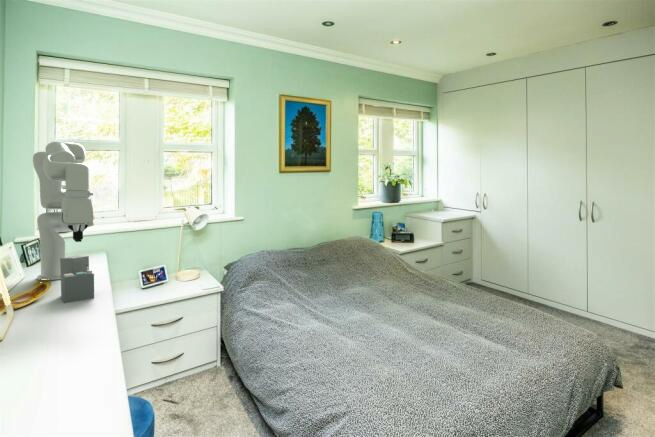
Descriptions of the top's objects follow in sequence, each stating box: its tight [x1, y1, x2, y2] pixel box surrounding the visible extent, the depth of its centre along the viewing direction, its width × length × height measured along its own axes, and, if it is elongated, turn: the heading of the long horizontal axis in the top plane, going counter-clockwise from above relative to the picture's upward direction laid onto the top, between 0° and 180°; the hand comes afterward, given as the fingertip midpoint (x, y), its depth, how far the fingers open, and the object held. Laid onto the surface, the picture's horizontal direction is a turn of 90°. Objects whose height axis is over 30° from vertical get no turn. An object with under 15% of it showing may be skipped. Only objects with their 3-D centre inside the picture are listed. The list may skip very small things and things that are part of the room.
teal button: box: [75, 272, 85, 276], centre depth 147 cm, size 3×3×3 cm
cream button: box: [64, 273, 74, 277], centre depth 144 cm, size 3×3×3 cm
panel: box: [60, 272, 95, 304], centre depth 147 cm, size 4×10×10 cm, turn 139°
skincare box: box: [60, 255, 90, 275], centre depth 153 cm, size 8×7×16 cm
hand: (77, 241), depth 146 cm, fingers closed
